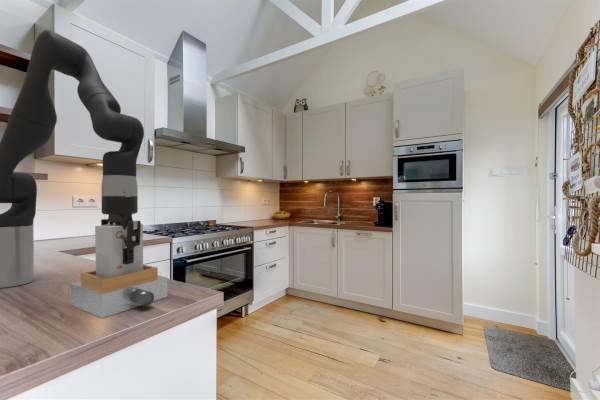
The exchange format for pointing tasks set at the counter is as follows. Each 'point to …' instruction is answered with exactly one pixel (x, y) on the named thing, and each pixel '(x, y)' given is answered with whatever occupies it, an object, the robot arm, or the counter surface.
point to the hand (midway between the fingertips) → (120, 261)
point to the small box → (115, 252)
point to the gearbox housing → (118, 291)
